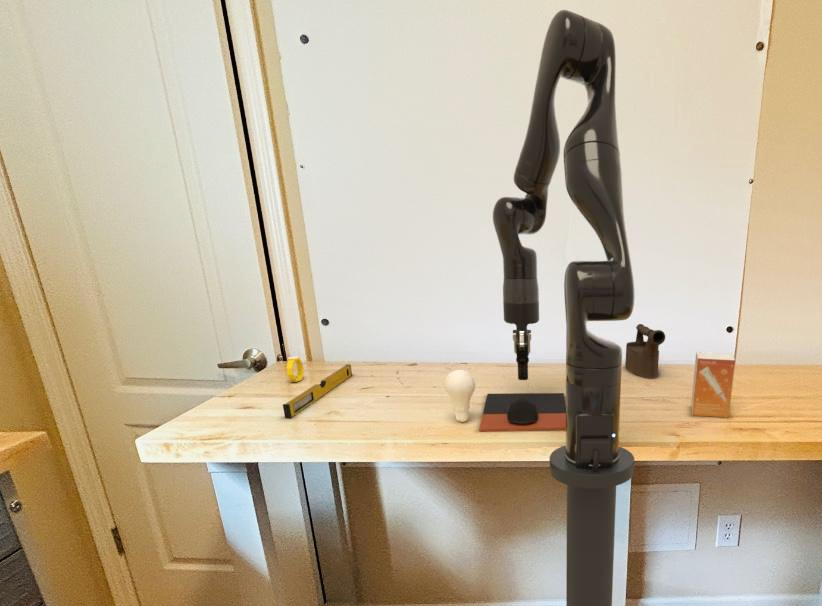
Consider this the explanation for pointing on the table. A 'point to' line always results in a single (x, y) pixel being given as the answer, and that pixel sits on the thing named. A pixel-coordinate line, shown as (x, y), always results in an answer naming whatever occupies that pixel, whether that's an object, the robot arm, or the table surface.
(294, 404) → the spirit level
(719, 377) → the small box
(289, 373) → the yellow ring
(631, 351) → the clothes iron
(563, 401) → the desk mat
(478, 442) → the table surface
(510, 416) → the gaming mouse
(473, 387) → the lightbulb
